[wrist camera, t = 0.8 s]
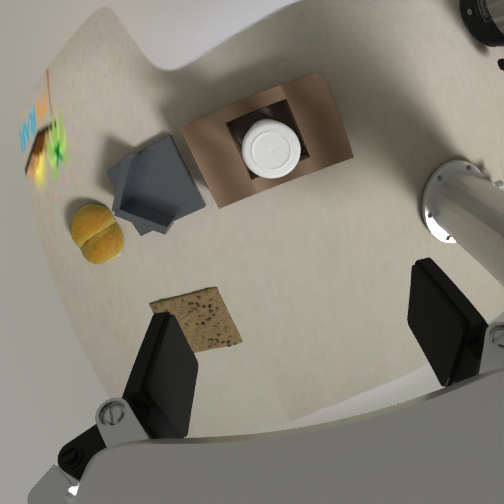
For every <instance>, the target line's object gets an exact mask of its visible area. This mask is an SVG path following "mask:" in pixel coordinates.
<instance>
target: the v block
mask: <svg viewBox="0 0 504 504" xmlns="http://www.w3.org/2000/svg"><path fill="white" fill-rule="evenodd" d="M106 173H107V175H108V177H109V179H110V181H111V183H112V185H113V186H114V188H115V190H116V192H115V197H114V201H113V206H112V211H114V212H115V216H117V217H120V218H122V219H125V220H128V221H130V222H133V223H134V225H135V227H136V229H137V230H138V232H139V234H140V235H141V236H142V235H144V234H146V233H148V232H151V231H153V230H154V231H157V232H160V233H162V234H166V233H167V231H168V230H169V229H170V227H171V226H172V224H173V222H174V221H175V220H177V219H179V218H181V217H184V216H186V215H188V214H190V213H193V212H195V211H197V210H199V209H202V208H204V207H205V206H206V204H205V202H204V200H203V198H202V196H201V194H200V192H199V190H198V188H197V186H196V184H195V182H194V180H193V178H192V176H191V174H190V172H189V170H188V168H187V166H186V164H185V162H184V160H183V157H182V155H181V153H180V151H179V149H178V147H177V145H176V143H175V141H174V139H173V137H172V135H170V136H168V137H166V138H164V139H162V140H160V141H158V142H156V143H155V144H153V145H151V146H149V147H147V148H146V149H144V150H142V151H140V152H139V153H138V152H134V153H131V154H129V155H126V156H124V158H123V162H122V163H120V164H118V165H117V166H115V167H114V168H112V169H110V170H109V171H107V172H106Z"/></svg>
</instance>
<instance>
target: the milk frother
mask: <svg viewBox="0 0 504 504" xmlns="http://www.w3.org/2000/svg"><path fill="white" fill-rule="evenodd" d="M460 10H461V14H462V17H463V20H464V22H465V24H466V25H467V27H468V29H469V30H470V31H471V33H472V34H473V35H474V36H475V37H476V38H477V39H478V40H479V41H480V42H482V43H483V44H485V45H487V46H490V47H496V46H504V0H460ZM498 66H499V68H500V69H501V70H503V71H504V59H499V60H498Z"/></svg>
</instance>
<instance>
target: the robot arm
mask: <svg viewBox="0 0 504 504" xmlns="http://www.w3.org/2000/svg"><path fill="white" fill-rule="evenodd" d="M503 188H504V184H503V182H502V181H501V180H498V181H496V182H494V183H492V182H490V181H488V180H486V179H484V176H483V175H482V173H481V171H480V170H479V169H478V168H477V167H476V166H475V165H473V164H472V163H470V162H467V161H464V160H451V161H448V162H446V163H444V164H443V165H441V166H440V167H439V168H438V169H437V170H436V171H435V172H434V173H433V174H432V176H431V177H430V179H429V181H428V183H427V185H426V187H425V190H424V194H423V199H422V215H423V219H424V223H425V225H426V227H427V229H428V230H429V231H430V233H431V234H432V235H433V236H435V237H436V238H437V239H439V240H440V241H442V242H446V243H455V242H457V243H458V244H459V245H460V246H461V247H463V248H464V249H465V250H466V251H467V252H468V253H469V254H470V255H471V256H473V257H474V258H475V259H476V260H477V261H478V262H479V263H480V264H481V265H482V266H483V267H484V268H485V269H486V270H487V271H488V272H489V273H490V274H491V275H492V276H493V277H494V278H495V279H496V280H497V281H498V282H499V283H500V284H501V285H502V286H503V287H504V190H502V189H503ZM407 320H408V325H409V327H410V329H411V330H412V332H413V334H414V336H415V337H416V339H417V341H418V343H419V345H420V346H421V348H422V350H423V352H424V354H425V356H426V357H427V359H428V361H429V363H430V365H431V367H432V369H433V371H434V372H435V374H436V376H437V378H438V380H439V382H440V384H441V385H442V386H445V388H443V389H440V390H437V391H434V392H432V393H429V394H426V395H423V396H420V397H418V398H415V399H412V400H409V401H406V402H403V403H400V404H397V405H393V406H390V407H387V408H383V409H380V410H376V411H372V412H369V413H365V414H362V415H357V416H353V417H349V418H345V419H341V420H336V421H331V422H327V423H322V424H317V425H311V426H306V427H301V428H294V429H287V430H281V431H273V432H266V433H258V434H247V435H236V436H222V437H203V438H184V437H186V436H187V434H188V429H189V422H190V416H191V409H192V403H193V397H194V391H195V385H196V379H197V373H198V362H197V359H196V357H195V355H194V353H193V351H192V349H191V347H190V345H189V343H188V341H187V339H186V337H185V335H184V333H183V331H182V329H181V327H180V325H179V323H178V321H177V319H176V317H175V315H174V314H170V313H169V312H168V311H166V312H160V313H155V314H154V315H153V317H152V319H151V322H150V324H149V327H148V329H147V332H146V334H145V337H144V340H143V342H142V345H141V347H140V350H139V352H138V355H137V357H136V360H135V363H134V365H133V368H132V371H131V374H130V376H129V379H128V382H127V385H126V388H125V390H124V393H123V396H122V398H111V399H109V400H106V401H105V402H104V403H102V404H101V405H100V407H99V408H98V410H97V412H96V416H95V420H96V425H94V426H93V427H91V428H90V429H88V430H87V431H85V432H84V433H82V434H81V435H79V436H78V437H76V438H75V439H73V440H72V441H70V442H69V443H67V444H66V445H65V446H63V447H62V449H61V450H60V452H59V455H58V464H59V465H58V466H55V465H53V466H52V467H51V468H50V469H49V471H48V472H47V473H46V474H45V475H44V476H43V477H42V478H41V480H40V481H39V482H38V483H37V484H36V485H35V486H34V487H33V488H32V489H31V491H30V492H29V495H28V504H504V322H494V323H492V324H491V325H488V324H487V323H486V321H485V319H484V318H483V317H482V316H481V314H480V313H479V312H478V311H477V310H476V308H475V307H474V306H473V305H472V304H471V302H470V301H469V300H468V299H467V298H466V296H465V295H464V294H463V293H462V292H461V291H460V290H459V288H458V287H457V286H456V285H455V284H454V283H453V282H452V281H451V279H450V278H449V277H448V276H447V275H446V274H445V273H444V272H443V271H442V270H441V269H440V267H439V266H438V265H437V264H436V263H435V262H434V261H433V260H432V259H431V258H425V259H421V260H417V261H416V262H415V265H413V266H412V271H411V286H410V298H409V308H408V317H407Z"/></svg>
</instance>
